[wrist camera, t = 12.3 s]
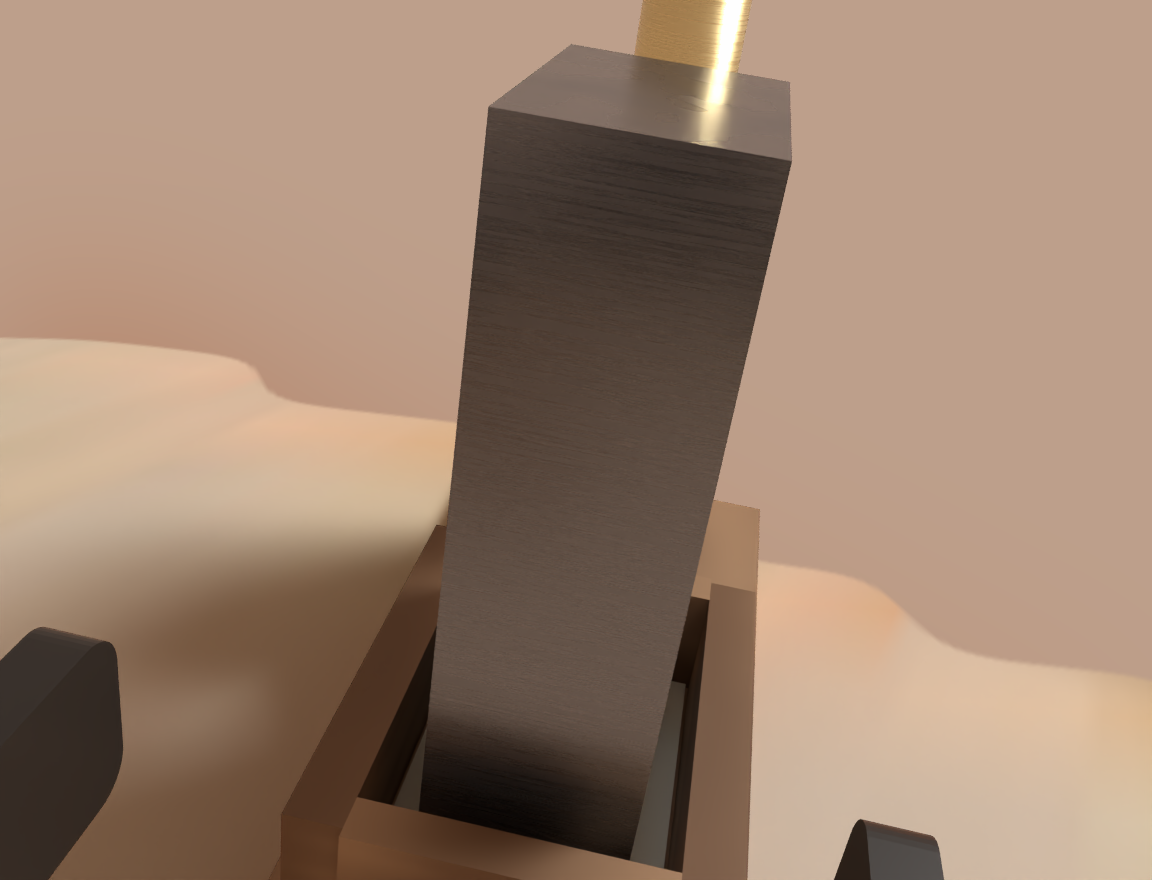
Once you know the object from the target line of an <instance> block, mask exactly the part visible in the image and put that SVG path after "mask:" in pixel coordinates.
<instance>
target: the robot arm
mask: <svg viewBox="0 0 1152 880" xmlns="http://www.w3.org/2000/svg"><path fill="white" fill-rule="evenodd" d="M122 754H123V738H122V723H121V709H120V694H119V680H118V665H117V655H116V651H115V648H114V647H113V645H112V644H111V643H110V642H106V641H102V640H98V639H94V638H89V637H85V636H81V635H76V634H72V633H68V632H63V631H59V630H55V629H51V628H46V627H40V628H37V629H34V630H33V631H31V632H30V633H28V634H27V635H26V636H25V637H24V638H23V639H22V640H21V641H20V642H19V643H18V644H17V645H16V646H15V647H14V648H13V649H12V650H11V651H10V652H9V653H8V654H7V655H6V656H5V657H4V658H3V659H2V660H0V880H48V879H49V878H50V876H51V875H52V874H53V872H54V871H55V870H56V868H57V867H58V866H59V864H60V863H61V862H62V860H63V859H64V858H65V856H66V855H67V854H68V852H69V851H70V849H71V848H72V847H73V845H74V844H75V843H76V841H77V840H78V839H79V837H80V836H81V835H82V833H83V832H84V831H85V829H86V828H87V827H88V825H89V824H90V823H91V821H92V820H93V819H94V817H95V816H96V815H97V813H98V812H99V811H100V809H101V808H102V806H103V805H104V803H105V802H106V800H107V798H108V797H109V795H110V793H111V791H112V789H113V786H114V784H115V781H116V779H117V776H118V773H119V769H120V765H121V761H122ZM834 880H944V877H943V870H942V864H941V858H940V852H939V847H938V844H937V841H936V840H935V838H934V837H933V836H931V835H926V834H922V833H918V832H913V831H909V830H905V829H901V828H896V827H892V826H888V825H883V824H879V823H875V822H870V821H866V820H862V819H860V820H858V821H857V822H856V824H855V825H854V827H853V829H852V832H851V834H850V837H849V840H848V843H847V845H846V848H845V851H844V854H843V857H842V859H841V862H840V865H839V868H838V870H837V873H836V876H835V879H834Z"/></svg>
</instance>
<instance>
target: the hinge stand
mask: <svg viewBox="0 0 1152 880" xmlns="http://www.w3.org/2000/svg"><path fill="white" fill-rule="evenodd" d="M759 518H760V510H759V509H755V508H751V507H746V506H741V505H735V504H731V503H726V502H721V501H716V500H713V503H712V508H711V512H710V516H709V521H708V525H707V529H706V534H705V538H704V542H703V547H702V551H701V555H700V560H699V564H698V568H697V572H696V577H695V581H694V585H693V590H692V594H691V598H690V603H689V607H688V611H687V616H686V620H685V624H684V629H683V633H682V637H681V642H680V646H679V650H678V654H677V659H676V663H675V667H674V672H673V676H672V680H671V685H670V689H669V693H668V698H667V702H666V706H665V711H664V715H663V719H662V724H661V728H660V732H659V736H658V741H657V745H656V749H655V754H654V758H653V762H652V767H651V771H650V775H649V780H648V784H647V788H646V793H645V797H644V801H643V806H642V810H641V814H640V818H639V823H638V827H637V831H636V836H635V840H634V844H633V849H632V853H631V857H630V861H628V860H624V859H620V858H616V857H611V856H607V855H603V854H599V853H594V852H590V851H586V850H581V849H577V848H573V847H569V846H564V845H560V844H556V843H552V842H547V841H543V840H539V839H534V838H530V837H526V836H522V835H517V834H513V833H509V832H505V831H500V830H496V829H492V828H487V827H483V826H479V825H475V824H470V823H466V822H462V821H458V820H453V819H449V818H445V817H440V816H436V815H432V814H428V813H423V812H419V802H420V792H421V782H422V772H423V762H424V752H425V742H426V732H427V722H428V712H429V702H430V691H431V681H432V671H433V661H434V651H435V641H436V631H437V621H438V611H439V601H440V591H441V581H442V571H443V560H444V550H445V540H446V530H447V527H445V526H440V525H436V527H435V529H434V531H433V533H432V534H431V536H430V538H429V540H428V542H427V544H426V546H425V547H424V549H423V551H422V553H421V555H420V557H419V559H418V560H417V562H416V564H415V566H414V568H413V570H412V572H411V574H410V575H409V577H408V579H407V581H406V583H405V585H404V587H403V588H402V590H401V592H400V594H399V596H398V598H397V600H396V601H395V603H394V605H393V607H392V609H391V611H390V613H389V615H388V616H387V618H386V620H385V622H384V624H383V626H382V628H381V629H380V631H379V633H378V635H377V637H376V639H375V641H374V642H373V644H372V646H371V648H370V650H369V652H368V654H367V655H366V657H365V659H364V661H363V663H362V665H361V667H360V669H359V670H358V672H357V674H356V676H355V678H354V680H353V682H352V683H351V685H350V687H349V689H348V691H347V693H346V695H345V696H344V698H343V700H342V702H341V704H340V706H339V708H338V709H337V711H336V713H335V715H334V717H333V719H332V721H331V723H330V724H329V726H328V728H327V730H326V732H325V734H324V736H323V737H322V739H321V741H320V743H319V745H318V747H317V749H316V750H315V752H314V754H313V756H312V758H311V760H310V762H309V763H308V765H307V767H306V769H305V771H304V773H303V775H302V777H301V778H300V780H299V782H298V784H297V786H296V788H295V790H294V791H293V793H292V795H291V797H290V799H289V801H288V803H287V804H286V806H285V808H284V810H283V812H282V814H281V856H280V858H279V860H278V862H277V864H276V866H275V868H274V870H273V872H272V874H271V876H270V878H269V880H747V875H748V845H749V815H750V786H751V756H752V726H753V697H754V667H755V637H756V607H757V578H758V548H759Z"/></svg>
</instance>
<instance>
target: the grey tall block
mask: <svg viewBox="0 0 1152 880" xmlns="http://www.w3.org/2000/svg"><path fill="white" fill-rule="evenodd" d="M791 151H792V150H791V113H790V83H789V82H786V81H780V80H775V79H769V78H763V77H757V76H751V75H746V74H740V73H734V72H728V71H723V70H717V69H711V68H705V67H699V66H694V65H688V64H682V63H676V62H671V61H665V60H659V59H653V58H648V57H642V56H636V55H630V54H624V53H619V52H612V51H607V50H601V49H596V48H590V47H584V46H578V45H572V44H571V45H570V46H569V47H567V48H566V49H565V50H563V51H562V52H561V53H559V54H558V55H557V56H555V57H554V58H553V59H551V60H550V61H549V62H547V63H546V64H545V65H543V66H542V67H541V68H539V69H538V70H537V71H535V72H534V73H533V74H531V75H530V76H529V77H527V78H526V79H525V80H523V81H522V82H521V83H519V84H518V85H517V86H515V87H514V88H513V89H511V90H510V91H509V92H507V93H506V94H505V95H503V96H502V97H501V98H499V99H498V100H497V101H495V102H494V103H493V104H491V105H490V106H489V108H488V118H487V127H486V137H485V147H484V158H483V168H482V178H481V188H480V198H479V208H478V218H477V228H476V229H477V230H476V238H475V249H474V258H473V268H472V279H471V288H470V299H469V309H468V319H467V329H466V339H465V349H464V360H463V369H462V380H461V389H460V399H459V400H460V401H459V410H458V419H457V430H456V440H455V450H454V460H453V470H452V480H451V490H450V500H449V510H448V520H447V530H446V540H445V550H444V560H443V571H442V581H441V591H440V601H439V611H438V621H437V631H436V641H435V651H434V661H433V671H432V681H431V691H430V702H429V712H428V722H427V732H426V742H425V752H424V762H423V772H422V782H421V792H420V802H419V812H423V813H428V814H432V815H436V816H440V817H445V818H449V819H453V820H458V821H462V822H466V823H470V824H475V825H479V826H483V827H487V828H492V829H496V830H500V831H505V832H509V833H513V834H517V835H522V836H526V837H530V838H534V839H539V840H543V841H547V842H552V843H556V844H560V845H564V846H569V847H573V848H577V849H581V850H586V851H590V852H594V853H599V854H603V855H607V856H611V857H616V858H620V859H624V860H628V861H630V857H631V853H632V849H633V844H634V840H635V836H636V831H637V827H638V823H639V818H640V814H641V810H642V806H643V801H644V797H645V793H646V788H647V784H648V780H649V775H650V771H651V767H652V762H653V758H654V754H655V749H656V745H657V741H658V736H659V732H660V728H661V724H662V719H663V715H664V711H665V706H666V702H667V698H668V693H669V689H670V685H671V680H672V676H673V672H674V667H675V663H676V659H677V654H678V650H679V646H680V642H681V637H682V633H683V629H684V624H685V620H686V616H687V611H688V607H689V603H690V598H691V594H692V590H693V585H694V581H695V577H696V572H697V568H698V564H699V560H700V555H701V551H702V547H703V542H704V538H705V534H706V529H707V525H708V521H709V516H710V512H711V508H712V503H713V499H714V495H715V490H716V486H717V482H718V478H719V473H720V469H721V465H722V460H723V456H724V451H725V447H726V443H727V438H728V434H729V430H730V425H731V421H732V417H733V413H734V408H735V404H736V400H737V396H738V391H739V387H740V383H741V378H742V374H743V369H744V365H745V360H746V357H747V352H748V348H749V343H750V339H751V335H752V331H753V326H754V322H755V318H756V313H757V309H758V305H759V300H760V296H761V292H762V288H763V283H764V278H765V275H766V270H767V266H768V262H769V257H770V253H771V248H772V244H773V240H774V236H775V232H776V227H777V223H778V218H779V214H780V210H781V206H782V201H783V197H784V193H785V188H786V184H787V180H788V175H789V171H790V167H791V162H792V152H791Z"/></svg>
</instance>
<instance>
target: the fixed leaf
mask: <svg viewBox="0 0 1152 880" xmlns="http://www.w3.org/2000/svg"><path fill="white" fill-rule="evenodd" d="M751 2H752V0H643V3H642V9H641V16H640V22H639V28H638V35H637V41H636V47H635V54H634V55H636V56H642V57H648V58H653V59H659V60H665V61H671V62H676V63H682V64H688V65H694V66H699V67H705V68H711V69H717V70H723V71H728V72H734V73H738V68H739V62H740V57H741V52H742V48H743V43H744V38H745V33H746V28H747V23H748V18H749V12H750V7H751Z"/></svg>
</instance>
